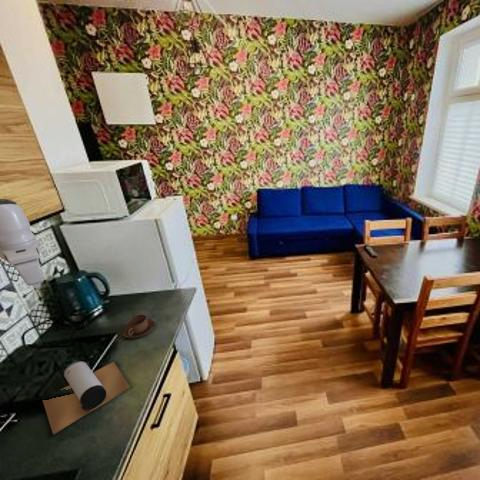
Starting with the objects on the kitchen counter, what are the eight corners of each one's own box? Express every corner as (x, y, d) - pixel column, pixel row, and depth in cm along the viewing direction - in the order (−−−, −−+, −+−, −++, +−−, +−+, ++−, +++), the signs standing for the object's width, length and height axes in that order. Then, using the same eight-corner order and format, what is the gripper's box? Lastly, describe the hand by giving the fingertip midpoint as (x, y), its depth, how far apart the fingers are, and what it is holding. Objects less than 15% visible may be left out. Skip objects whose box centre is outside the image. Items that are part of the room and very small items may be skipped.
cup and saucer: (152, 337, 115) (149, 325, 113) (119, 343, 112) (115, 332, 109) (157, 319, 126) (154, 309, 123) (128, 325, 122) (124, 314, 120)
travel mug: (58, 370, 91) (78, 403, 81) (82, 357, 96) (103, 386, 86) (67, 382, 94) (87, 415, 84) (89, 368, 99) (111, 398, 88)
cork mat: (53, 434, 79) (52, 433, 78) (42, 400, 88) (42, 399, 88) (130, 387, 93) (130, 386, 93) (114, 362, 103) (113, 361, 102)
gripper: (1, 243, 88) (19, 279, 94) (8, 262, 77) (28, 301, 82) (28, 238, 93) (44, 272, 98) (39, 254, 81) (55, 292, 86)
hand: (37, 286), depth 90 cm, fingers closed
